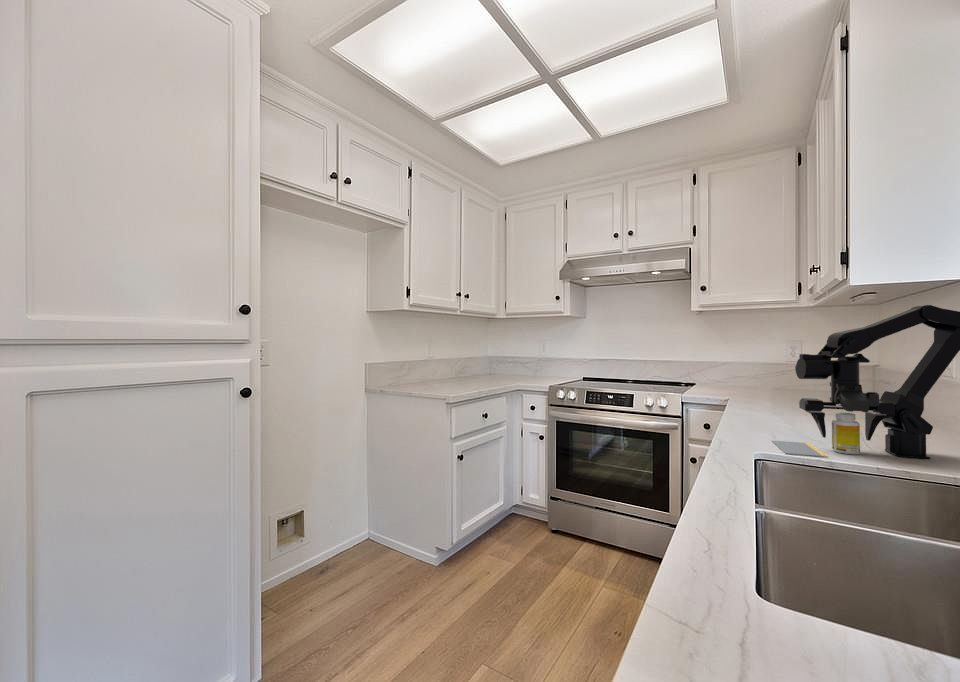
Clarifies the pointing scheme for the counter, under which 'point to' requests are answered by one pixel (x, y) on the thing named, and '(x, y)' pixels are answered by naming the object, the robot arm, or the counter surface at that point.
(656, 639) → the counter surface
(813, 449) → the mat
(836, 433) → the supplement bottle
